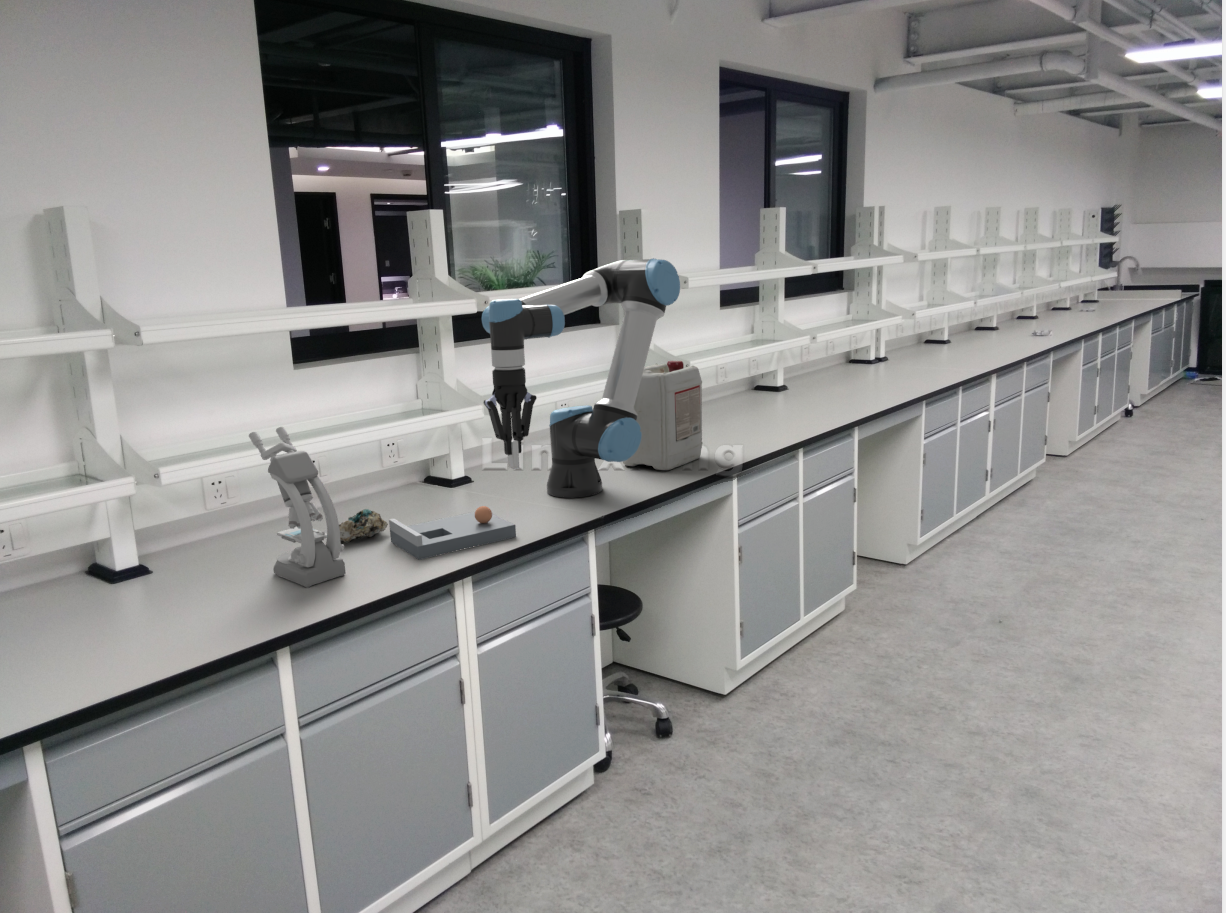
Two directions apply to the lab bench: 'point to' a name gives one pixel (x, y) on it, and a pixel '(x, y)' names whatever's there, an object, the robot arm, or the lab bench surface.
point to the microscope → (303, 515)
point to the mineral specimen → (362, 525)
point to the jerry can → (668, 416)
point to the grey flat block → (448, 534)
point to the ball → (483, 514)
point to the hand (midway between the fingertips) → (513, 467)
